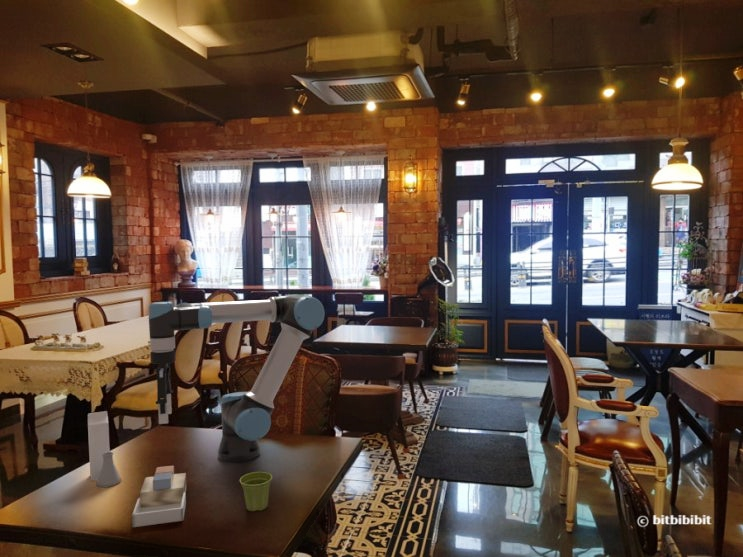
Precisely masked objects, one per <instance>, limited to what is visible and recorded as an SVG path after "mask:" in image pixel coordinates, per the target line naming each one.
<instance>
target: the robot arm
mask: <svg viewBox="0 0 743 557" xmlns="http://www.w3.org/2000/svg"><path fill="white" fill-rule="evenodd" d="M325 315H326V314H325V308H324V305H323V304H322V302H321V301H320V300H319V299H318V298H316V297H313V296H311V295H306V294H305V295H303V294H297V293H294V294H288V295H279V296H270V297H269V298H267V299H260V300H259V299H258V300H239V301H238V300H236V301H235V300H233V301H214V302H196V303H195V302H194V303H188V302H181V303H178V304H177V305H175V306H174V303H173V302H172V301H158V302H157V301H155V302H152V303H150V304H149V306H148V328H149V329H148V331H149V340H148V341H147V344H148V345H149V344H150V345H149V346H150V348H149V349H150V353H149V355H150V357H149V358H150V363H151V364H152V365H158V367H157V369H156V372H155V373H156V383H157V385H156V387H157V389H156V391H157V392H156V398H157V400H156V401H155V404H156V405H157V408H158V425H163V424H165V425H166V424H169V415H171V414H172V413H173V412H172V411H173V410H172V394H173V393H174V390H173V389H172V383H171V372H172V371H171V364H172V363H175V361H176V350H175V349H176V335H175V333H176V332H175V331H185V330H187V331H188V330H199V329H200V330H203V329H208V328H211V327H212V325H213V324H223V323H238V322H240V323H241V322H255V321H258V322H259V321H269V322H270V323H280V326H281V330H280V331H281V332H279V335H278V337H277V339H276V340H275V343H274V344H273V346H272V348H271V350H270V352H269V354H268V356H267V359H266V360H265V362H264V364H263V366H262V368H261V369H260V372H259V374H258V375H257V378H256V380H255V381H254V384H253V385H252V387H251V389H250V390H249V391H237V392H232V393H227V394H226V393H225V394H223V395H222V397H221V401H220V402H221V403H220V406H221V409H220V410H221V429H222V434H221V435H222V437H221V439H220V443H219V447H218V450H217V458H218V459H219V460H220V461H222V462H227V463H241V462H246V461H250V460H254V459H255V458H257V457H258V456H259V455H260V454H261V447H260V444H259V443H260V442H259V441H258V440H260V439H262V438H263V437H264V436H266V435H267V434H268V432H269V431H270V429H271V425H272V419H271V415H272V413H273V411H274V409H275V406H274V399H275V397H276V395H277V394H278V392H279V390H280V388H281V386H282V384H283V382H284V379H285V377H286V375H287V374H288V372H289V369H290V368H291V365H292V363H293V362H294V360H295V357H296V355H297V354H298V352H299V350H300V348H301V346H302V344H303V341H305V340H306V339H309V338H311V335H312V333H313V331H314V330H316V329H317V328H319V327H320V326H321V325H322V323H324V320H325Z"/></svg>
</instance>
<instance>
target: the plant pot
mask: <svg viewBox="0 0 743 557" xmlns="http://www.w3.org/2000/svg"><path fill="white" fill-rule="evenodd" d="M238 480H239V481H238V482H239V483H240V485H241V488H242V490H243V496H244V497H243V498H244V501H245V508H246V509H247V510H248V511H250V512H255V511H263V510H265V509H267V507H268V505H269V495H270V486H271V481H272V480H273V475H272V474H271V473H269V472H266V471H253V472H249V473H245V474H244V475H243V476H240V479H238Z"/></svg>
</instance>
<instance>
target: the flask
mask: <svg viewBox="0 0 743 557" xmlns="http://www.w3.org/2000/svg"><path fill="white" fill-rule="evenodd" d="M113 455H114V451H110V452H105V453H103V454H102V456H103V466H102V469H101V472H100V475H99V478H98V480H96V481H97V482H96V484H95V486H97V487H100V488H107V487H113V486H115V485H118V484H119V483H121V481H122V478H121V475H120V473H119V472H118V470H117V467H116V465H115V463H114V458H113Z"/></svg>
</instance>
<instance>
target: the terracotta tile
mask: <svg viewBox="0 0 743 557" xmlns="http://www.w3.org/2000/svg"><path fill="white" fill-rule="evenodd" d="M168 472H172V479H173V478H174V474H175V465H165V466H158V467H156V468H155V473H154V475H155V474H160V473H168Z"/></svg>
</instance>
